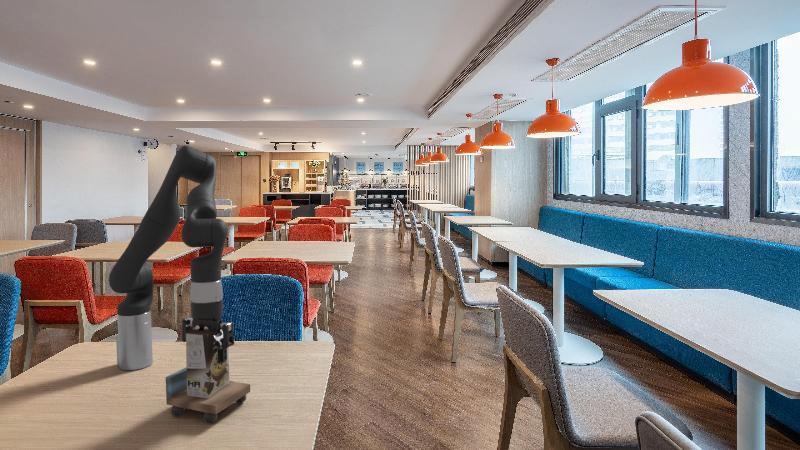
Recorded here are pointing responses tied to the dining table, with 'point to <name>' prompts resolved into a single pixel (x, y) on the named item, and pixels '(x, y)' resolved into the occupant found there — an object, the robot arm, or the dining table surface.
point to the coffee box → (204, 365)
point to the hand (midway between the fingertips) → (208, 360)
